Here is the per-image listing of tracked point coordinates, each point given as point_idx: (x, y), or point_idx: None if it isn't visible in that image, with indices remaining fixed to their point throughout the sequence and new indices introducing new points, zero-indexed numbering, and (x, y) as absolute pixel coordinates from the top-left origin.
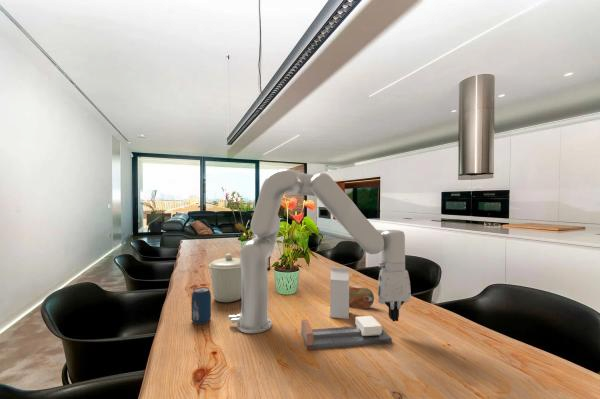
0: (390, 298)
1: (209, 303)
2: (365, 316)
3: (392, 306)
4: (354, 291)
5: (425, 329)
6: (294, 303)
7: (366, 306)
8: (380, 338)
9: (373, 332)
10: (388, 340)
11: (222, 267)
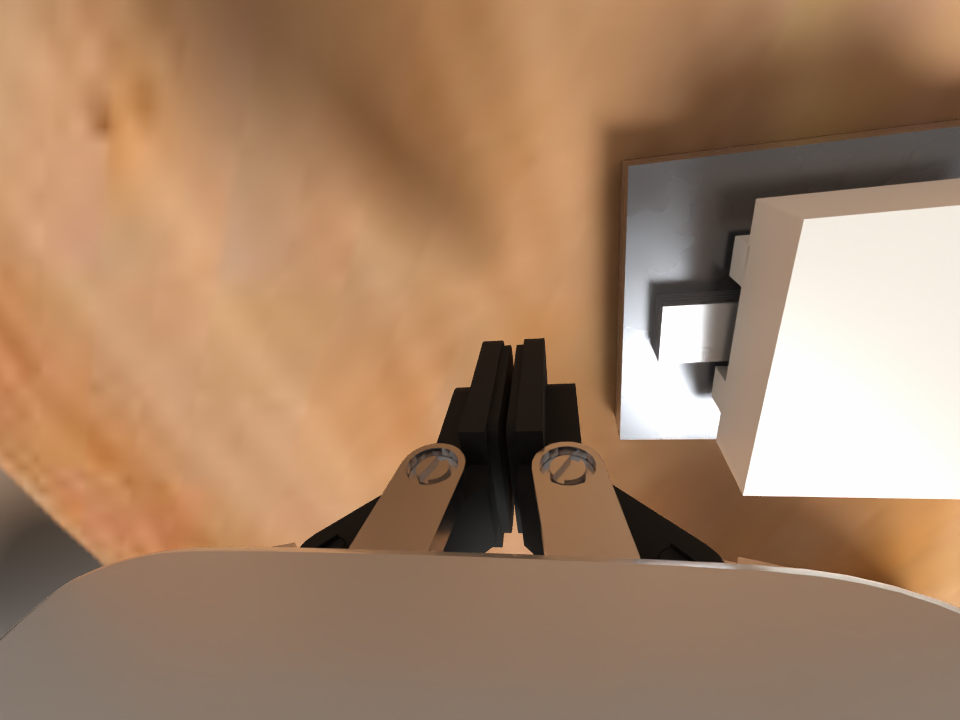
0: (780, 683)
1: None
2: (835, 491)
3: (567, 486)
4: None
5: (245, 373)
6: None
7: None
8: (765, 170)
9: (899, 188)
10: (665, 159)
11: None
